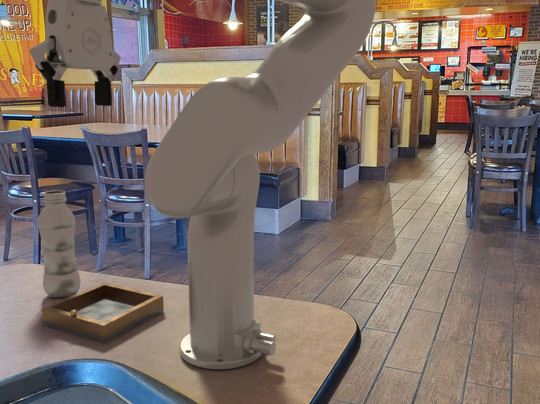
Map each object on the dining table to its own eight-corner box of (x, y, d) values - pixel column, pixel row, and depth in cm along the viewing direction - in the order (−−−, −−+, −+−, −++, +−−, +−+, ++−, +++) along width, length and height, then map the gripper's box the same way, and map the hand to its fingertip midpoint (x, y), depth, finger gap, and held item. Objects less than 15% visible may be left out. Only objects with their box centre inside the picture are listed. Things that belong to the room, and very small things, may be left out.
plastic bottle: (74, 301, 99) (66, 195, 95) (37, 301, 99) (28, 195, 95) (86, 289, 105) (79, 189, 101) (52, 289, 105) (44, 189, 101)
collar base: (163, 311, 94) (162, 291, 94) (104, 343, 82) (103, 320, 82) (105, 297, 101) (104, 278, 100) (42, 325, 89) (41, 303, 88)
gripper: (46, -18, 74) (53, 108, 77) (133, 1, 89) (135, 106, 92) (10, -15, 77) (19, 106, 81) (99, 3, 92) (103, 104, 96)
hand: (81, 106), depth 86 cm, fingers open, 9 cm apart
